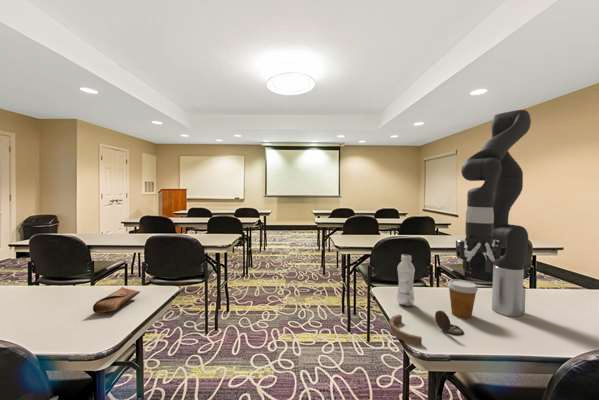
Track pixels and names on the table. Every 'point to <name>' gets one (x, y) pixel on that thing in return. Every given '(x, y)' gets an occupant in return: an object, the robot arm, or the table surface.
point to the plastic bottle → (405, 281)
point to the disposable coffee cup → (462, 298)
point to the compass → (447, 324)
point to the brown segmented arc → (402, 335)
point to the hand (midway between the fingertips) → (477, 272)
